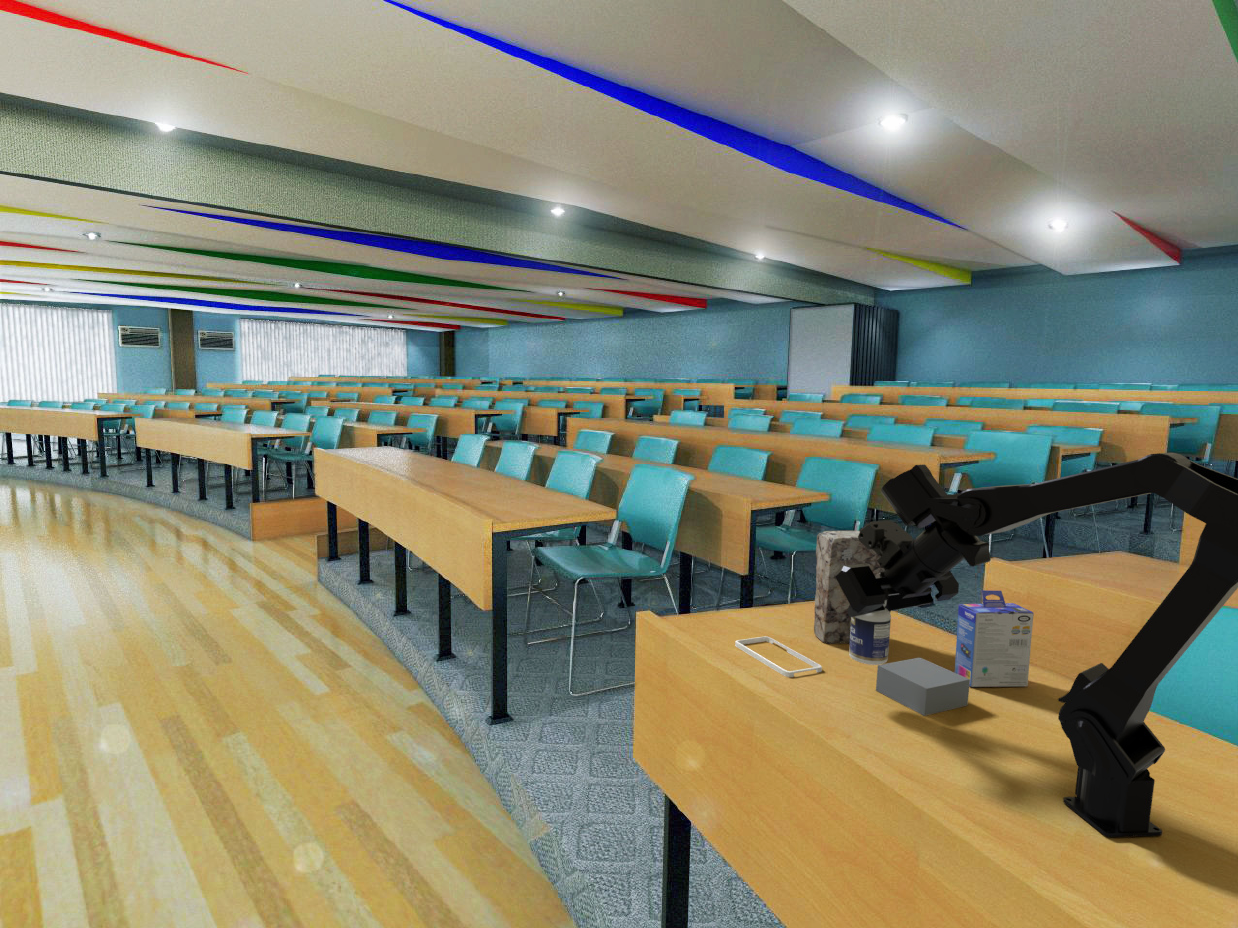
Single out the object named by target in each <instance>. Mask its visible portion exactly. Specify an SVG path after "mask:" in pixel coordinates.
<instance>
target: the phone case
mask: <svg viewBox="0 0 1238 928" xmlns="http://www.w3.org/2000/svg"><path fill="white" fill-rule="evenodd" d="M762 642H767V643H770V644H776V645H778V646H779V647H781V648H783V649H785V650H786V653H788V654H790V655H791V656H793V657H795V658H797V659H799V661H802V662H804V663H806V664H807V665H809V666H811V667H809V668H808V667H807V668H802V669H801V668H800V669H796V670H795V669H794V670H790V671H789V670H786V669H785V668H783V667H781V666H779V665H777V664H776V663H774V662H772V661H771V660H769V659H768V658H765V657H764V656H763V655H761V654H759V653H758V652H756V651H754V650H752V649H751V648H749V647H748V646H746V645H748V644H755V643H762ZM734 643H735V644H734V645H735V647H736V648H737V649H739V650H741V651H743V652H744V653H746V654H747V655H749V657H750V656H751V657H752V658H753V659H755V660H757V661H759V662H760V663H762V664H764V665H765V666H767V667H768V668H770V669H772V670H774V671H775V672H777V673H778V674H780V675H781V676H784V677H786V678H793V677H795V674H798V673H804V672H808V671H814V670H815V672H816V673H821V672H822V670H823V666H822V665H821V664H819V663H818V662H815V661H814V660H812V659H810V658H809V657H807V656H805V655H803V654H801V653H800V652H797V651H796V650H794V649H792V648H790V647H788V646H787V645H785V644H783V643H782V642H779V641H778V640H776V639H774V638H772V637H770V636H765V635H764V636H758V637H750V638H745V639H738V640H735V642H734Z"/></svg>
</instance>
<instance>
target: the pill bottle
mask: <svg viewBox="0 0 1238 928" xmlns="http://www.w3.org/2000/svg"><path fill="white" fill-rule="evenodd" d="M886 603H887V600H886V601H885V604H884V605H883V606H884V608H885V606H886ZM891 619H892V614H891V612H889V611H888V610H887V609H886V608H885V610H883V611H879V612H874V613H869V614H865V615H860V616H856V617H851V630H850V643H849V650H848V654H849V657H850V658H851V659H852V660H854V661H855V662H859V663H862V664H865V665H872V666H874V665H875V666H876V665H877V666H878V665H882V664H887V662H888V659H889V651H890V639H891V638H890V636H891V635H890V634H891V621H892V620H891Z"/></svg>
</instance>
